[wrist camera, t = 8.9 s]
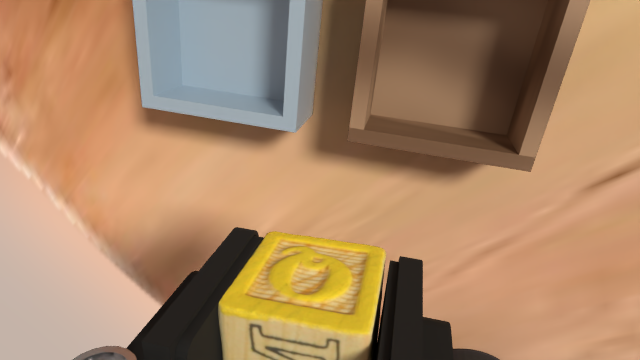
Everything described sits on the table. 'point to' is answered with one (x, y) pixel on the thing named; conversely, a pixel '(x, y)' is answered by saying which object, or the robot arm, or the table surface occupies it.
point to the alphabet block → (304, 301)
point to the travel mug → (471, 355)
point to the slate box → (230, 59)
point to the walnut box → (462, 76)
